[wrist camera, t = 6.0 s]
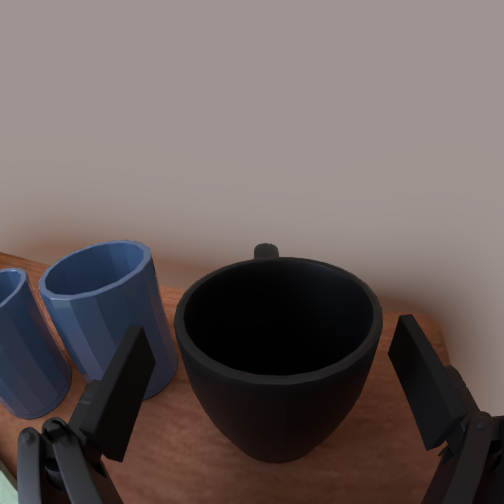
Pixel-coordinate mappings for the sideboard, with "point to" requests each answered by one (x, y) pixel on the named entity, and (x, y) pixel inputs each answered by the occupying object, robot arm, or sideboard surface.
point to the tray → (7, 486)
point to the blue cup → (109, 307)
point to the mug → (278, 350)
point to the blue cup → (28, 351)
